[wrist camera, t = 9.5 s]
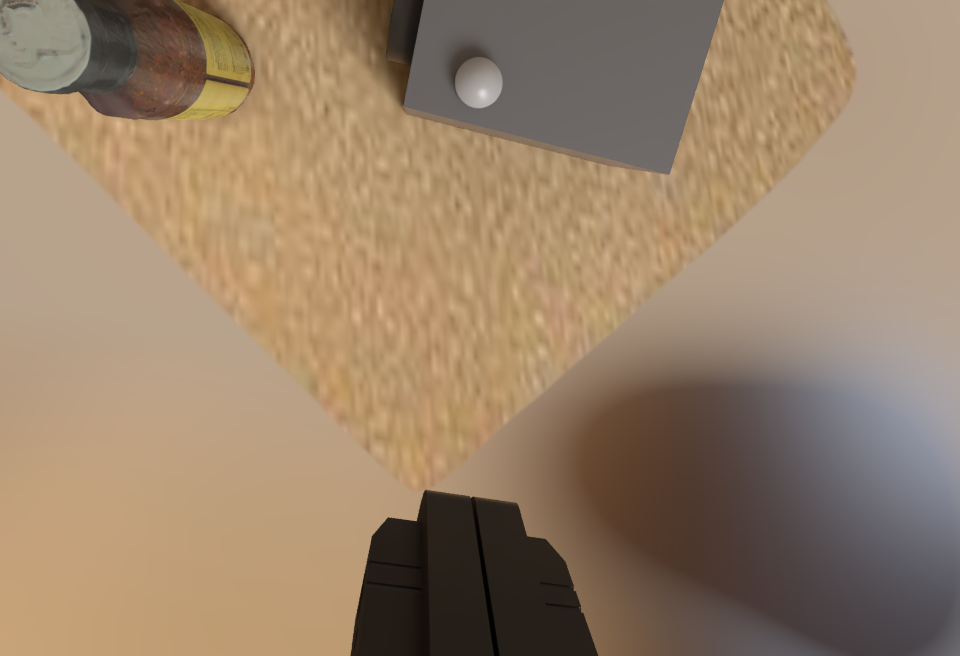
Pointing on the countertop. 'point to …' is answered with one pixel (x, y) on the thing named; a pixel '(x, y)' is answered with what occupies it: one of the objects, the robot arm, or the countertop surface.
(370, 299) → the countertop surface
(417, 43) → the box
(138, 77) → the sauce bottle
